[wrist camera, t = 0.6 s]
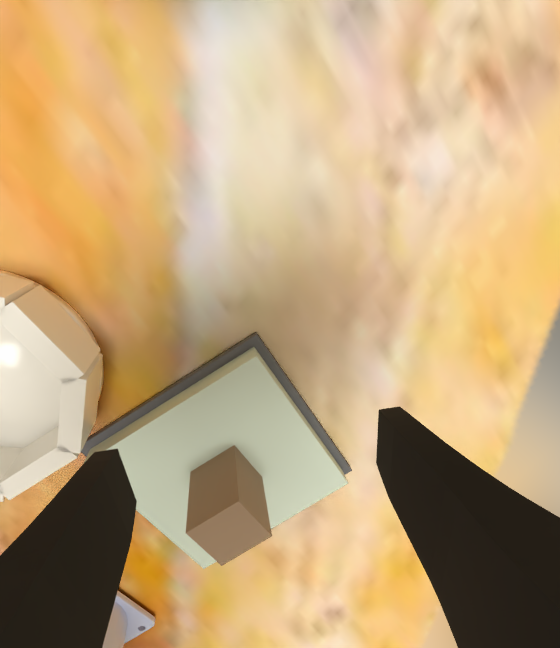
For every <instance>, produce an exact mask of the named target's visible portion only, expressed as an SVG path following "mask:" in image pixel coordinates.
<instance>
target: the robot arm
mask: <svg viewBox="0 0 560 648" xmlns="http://www.w3.org/2000/svg"><path fill="white" fill-rule="evenodd" d="M376 463H377V466H378V469H379V472H380V475H381V478H382V481H383V483H384V486H385V489H386V491H387V494H388V497H389V499H390V501H391V503H392V505H393V507H394V509H395V511H396V513H397V515H398V517H399V519H400V521H401V523H402V525H403V527H404V529H405V531H406V533H407V535H408V537H409V539H410V541H411V543H412V545H413V547H414V549H415V551H416V553H417V555H418V557H419V559H420V561H421V563H422V565H423V567H424V569H425V571H426V573H427V575H428V577H429V579H430V581H431V583H432V586H433V588H434V590H435V592H436V594H437V597H438V599H439V601H440V603H441V606H442V608H443V611H444V613H445V616H446V618H447V621H448V623H449V626H450V628H451V631H452V633H453V636H454V638H455V641H456V643H457V646H458V648H560V518H559V517H558V516H556V515H554V514H552V513H551V512H549V511H547V510H546V509H544V508H542V507H540V506H539V505H537V504H535V503H534V502H532V501H530V500H529V499H527V498H525V497H524V496H522V495H520V494H519V493H517V492H516V491H514V490H512V489H511V488H509V487H508V486H506V485H505V484H503V483H502V482H500V481H499V480H497V479H496V478H494V477H493V476H491V475H490V474H488V473H487V472H485V471H484V470H482V469H481V468H480V467H478V466H477V465H475V464H474V463H472V462H471V461H470V460H468V459H467V458H466V457H464V456H463V455H461V454H460V453H459V452H457V451H456V450H455V449H453V448H452V447H451V446H449V445H448V444H447V443H445V442H444V441H443V440H441V439H440V438H439V437H438V436H436V435H435V434H434V433H433V432H431V431H430V430H429V429H427V428H426V427H425V426H424V425H422V424H421V423H420V422H419V421H417V420H416V419H415V418H414V417H412V416H411V415H410V414H409V413H407V412H406V411H405V410H403V409H402V408H401V407H394V408H387V409H381V410H379V418H378V439H377V461H376ZM136 504H137V501H136V498H135V495H134V492H133V490H132V487H131V484H130V481H129V479H128V476H127V473H126V470H125V468H124V465H123V462H122V459H121V457H120V454H119V451H118V449H111V450H105V451H98V452H94V453H93V454H92V455H91V456H90V457H89V458H88V459H87V461H86V462H85V463H84V464H83V465H82V466H81V467H80V469H79V470H78V471H77V472H76V473H75V474H74V476H73V477H72V478H71V479H70V480H69V481H68V482H67V484H66V485H65V486H64V487H63V488H62V489H61V490H60V492H59V493H58V494H57V495H56V496H55V497H54V498H53V500H52V501H51V502H50V503H49V504H48V505H47V506H46V507H45V508H44V510H43V511H42V512H41V513H40V514H39V515H38V516H37V517H36V519H35V520H34V521H33V522H32V523H31V524H30V525H29V526H28V527H27V528H26V529H25V530H24V532H23V533H22V534H21V535H20V536H19V537H18V538H17V539H16V540H15V541H14V542H13V543H12V544H11V545H10V546H9V547H8V548H7V549H6V550H5V551H4V552H3V553H2V554H1V556H0V648H123V646H124V644H125V643H126V642H128V641H130V640H132V639H133V638H135V637H137V636H138V635H140V634H142V633H143V632H145V631H147V630H149V629H150V628H152V627H153V626H154V624H155V617H154V616H153V615H151V614H150V613H148V612H147V611H146V610H144V609H143V608H142V607H140V606H139V605H137V604H136V603H135V602H133V601H132V600H130V599H129V598H128V597H126V596H125V595H123V594H122V593H121V592H119V591H118V588H119V584H120V581H121V577H122V573H123V569H124V566H125V562H126V558H127V554H128V551H129V547H130V543H131V537H132V531H133V525H134V518H135V511H136Z"/></svg>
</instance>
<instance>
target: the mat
mask: <svg viewBox="0 0 560 648" xmlns="http://www.w3.org/2000/svg"><path fill="white" fill-rule="evenodd" d="M253 347H255V349H256V350H257V351H258V353H259V354H260V356H261V357H262V358H263V360H264V361H265V363H266V364H267V365H268V367H269V368H270V370H271V371H272V372H273V374H274V375H275V377H276V378H277V379H278V381H279V382H280V384H281V385H282V386H283V388H284V389H285V391H286V392H287V393H288V395H289V396H290V398H291V399H292V400H293V402H294V403H295V404H296V406H297V407H298V409H299V410H300V411H301V413H302V414H303V416H304V417H305V418H306V420H307V421H308V423H309V424H310V425H311V427H312V428H313V430H314V431H315V432H316V434H317V435H318V437H319V438H320V439H321V441H322V442H323V444H324V445H325V446H326V448H327V449H328V451H329V452H330V453H331V455H332V456H333V458H334V459H335V460H336V462H337V463H338V464H339V466H340V467H341V469H342V470H343V473H344V475H345V474H347V473H349V472H350V471H352V470H351V468H350V466H349V464H348V463H347V461H346V460H345V459H344V457H343V456H342V454H341V453H340V451H339V450H338V449H337V447H336V446H335V444H334V443H333V441H332V440H331V439H330V437H329V436H328V434H327V433H326V431H325V430H324V429H323V427H322V426H321V424H320V423H319V421H318V420H317V419H316V417H315V416H314V414H313V413H312V411H311V410H310V409H309V407H308V406H307V404H306V403H305V401H304V400H303V399H302V397H301V396H300V394H299V393H298V391H297V390H296V389H295V387H294V386H293V384H292V383H291V381H290V380H289V379H288V377H287V376H286V374H285V373H284V371H283V370H282V369H281V367H280V366H279V364H278V363H277V361H276V360H275V358H274V357H273V356H272V354H271V353H270V351H269V350H268V348H267V347H266V346H265V344H264V343H263V341H262V340H261V338H260V337H259V336H258V334H257V333H256V332H255V333H254V334H252V335H251V336H249V337H247V338H246V339H244V340H243V341H241V342H240V343H238V344H236V345H235V346H233V347H232V348H230V349H228V350H227V351H225V352H224V353H222V354H220V355H219V356H217V357H216V358H214V359H212V360H211V361H209V362H208V363H206V364H204V365H203V366H201V367H200V368H198V369H197V370H195V371H193V372H192V373H190V374H189V375H187V376H185V377H184V378H182V379H181V380H179V381H177V382H176V383H174V384H173V385H171V386H169V387H168V388H166V389H165V390H163V391H161V392H160V393H158V394H157V395H155V396H154V397H152V398H150V399H149V400H147V401H146V402H144V403H142V404H141V405H139V406H138V407H136V408H134V409H133V410H131V411H130V412H128V413H126V414H125V415H123V416H122V417H120V418H119V419H117V420H115V421H114V422H112V423H111V424H109V425H107V426H106V427H104V428H103V429H101V430H99V431H98V432H96V433H95V434H93V435H91V436H90V437H88V438H87V441H86V443H85V445H84V447H83V449H82V451H81V452H82V453H83V454H84V455H85V456H86V457H87V455H88V453H89V451H90V449H91V448H93V447H94V446H96V445H98V444H99V443H101V442H102V441H104V440H106V439H107V438H109V437H110V436H112V435H114V434H115V433H117V432H118V431H120V430H122V429H123V428H125V427H126V426H128V425H130V424H131V423H133V422H134V421H136V420H137V419H139V418H141V417H142V416H144V415H145V414H147V413H149V412H150V411H152V410H153V409H155V408H157V407H158V406H160V405H161V404H163V403H165V402H166V401H168V400H169V399H171V398H173V397H174V396H176V395H177V394H179V393H181V392H182V391H184V390H185V389H187V388H189V387H190V386H192V385H193V384H195V383H197V382H198V381H200V380H201V379H203V378H205V377H206V376H208V375H209V374H211V373H213V372H214V371H216V370H217V369H219V368H221V367H222V366H224V365H225V364H227V363H229V362H230V361H232V360H233V359H235V358H237V357H238V356H240V355H241V354H243V353H245V352H246V351H248V350H249V349H251V348H253Z"/></svg>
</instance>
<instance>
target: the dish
mask: <svg viewBox="0 0 560 648" xmlns="http://www.w3.org/2000/svg"><path fill="white" fill-rule="evenodd" d="M100 350H101V349H100V348H99V346H98V343H97V341H96V339H95V337H94V335H93V333H92V332H91V330H90V328H89V327H88V325H87V324H86V322H85V321H84V320H83V319H82V317H81V316H80V315H79V314H78V313H77V312H76V311H75V310H74V309H73V308H72V307H71V306H70V305H69V304H68V303H67V302H66V301H64V300H63V299H62V298H60V297H59V296H58V295H57V294H55V293H54V292H52V291H50V290H49V289H47V288H45V287H44V286H42V285H40V284H38V283H36V282H34V281H32V280H30V279H28V278H25V277H22V276H19V275H17V274H14V273H11V272H7V271H3V270H0V502H3V501H4V500H5V498H7V499H8V500H11V499H12V498H14V497H15V496H17V495H19V494H20V493H22V492H23V491H25V490H27V489H28V488H30V487H31V486H33V485H35V484H36V483H38V482H39V481H41V480H43V479H44V478H46V477H47V476H49V475H50V474H52V473H54V472H55V471H57V470H58V469H60V468H62V467H63V466H65V465H66V464H68V463H70V462H71V461H73V460H74V459H76V458H77V457H78V455H79V453H81V451H82V449H83V447H84V445H85V443H86V441H87V438H88V436H89V434H90V432H91V430H92V428H93V426H94V424H95V422H96V418H97V408H98V400H99V397H100V395H101V392H102V387H103V382H104V367H103V359H102V358H103V354H101V352H100Z"/></svg>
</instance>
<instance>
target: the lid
mask: <svg viewBox="0 0 560 648" xmlns="http://www.w3.org/2000/svg"><path fill="white" fill-rule="evenodd" d="M111 449H118V451H119V454H120V457H121V459H122V462H123V465H124V468H125V470H126V473H127V476H128V479H129V481H130V484H131V487H132V490H133V492H134V495H135V498H136V501H137V504H136V510H137V511H138V512H139V513H140V514H141V515H142V516H144V517H145V518H146V519H147V520H148V521H149V522H150V523H152V524H153V525H154V526H155V527H156V528H157V529H159V530H160V531H161V532H162V533H163V534H164V535H165V536H167V537H168V538H169V539H170V540H171V541H172V542H173V543H175V544H176V545H177V546H178V547H179V548H180V549H182V550H183V551H184V552H185V553H186V554H187V555H188V556H190V557H191V558H192V559H193V560H194V561H195V562H196V563H198V564H199V565H200V566H201V567H202V568H203V569H205V568H206V567H208V566H210V565H211V564H213V563H215V562H216V561H217V562H218V563H219V564H220V565H221V566H222V565H224V564H225V563H227V562H229V561H230V560H232V559H234V558H236V557H237V556H239V555H241V554H242V553H244V552H246V551H247V550H249V549H251V548H252V547H254V546H256V545H258V544H259V543H261V542H263V541H264V540H266V539H268V538H269V537H271V536H272V534H271V529H272V528H274V527H275V526H277V525H279V524H280V523H282V522H284V521H285V520H287V519H289V518H291V517H292V516H294V515H296V514H297V513H299V512H301V511H302V510H304V509H306V508H307V507H309V506H311V505H312V504H314V503H316V502H318V501H319V500H321V499H323V498H324V497H326V496H328V495H329V494H331V493H333V492H334V491H336V490H338V489H339V488H341V487H343V486H345V485H346V484H348V482H347V479H346V477H345V475H344V473H343V470H342V469H341V467H340V466H339V464H338V463H337V462H336V460H335V459H334V458H333V456H332V455H331V453H330V452H329V451H328V449H327V448H326V446H325V445H324V444H323V442H322V441H321V439H320V438H319V437H318V435H317V434H316V432H315V431H314V430H313V428H312V427H311V425H310V424H309V423H308V421H307V420H306V418H305V417H304V416H303V414H302V413H301V411H300V410H299V409H298V407H297V406H296V404H295V403H294V402H293V400H292V399H291V398H290V396H289V395H288V393H287V392H286V391H285V389H284V388H283V386H282V385H281V384H280V382H279V381H278V379H277V378H276V377H275V375H274V374H273V372H272V371H271V370H270V368H269V367H268V365H267V364H266V363H265V361H264V360H263V358H262V357H261V356H260V354H259V353H258V351H257V350H256V349H255V347H253V348H251V349H249V350H248V351H246V352H245V353H243V354H241V355H240V356H238V357H237V358H235V359H233V360H232V361H230V362H229V363H227V364H225V365H224V366H222V367H221V368H219V369H217V370H216V371H214V372H213V373H211V374H209V375H208V376H206V377H205V378H203V379H201V380H200V381H198V382H197V383H195V384H193V385H192V386H190V387H189V388H187V389H185V390H184V391H182V392H181V393H179V394H177V395H176V396H174V397H173V398H171V399H169V400H168V401H166V402H165V403H163V404H161V405H160V406H158V407H157V408H155V409H153V410H152V411H150V412H149V413H147V414H145V415H144V416H142V417H141V418H139V419H137V420H136V421H134V422H133V423H131V424H130V425H128V426H126V427H125V428H123V429H122V430H120V431H118V432H117V433H115V434H114V435H112V436H110V437H109V438H107V439H106V440H104V441H102V442H101V443H99V444H98V445H96V446H94V447H93V448H91V449H90V451H89V453H88V455H87V457H86V459H85V462H86V461H87V459H88V458H89V457H90V456H91V455H92V454H93V453H94V452H98V451H105V450H111ZM85 462H84V463H85Z"/></svg>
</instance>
